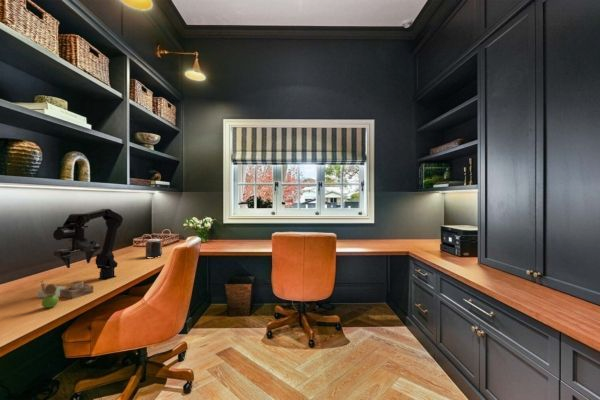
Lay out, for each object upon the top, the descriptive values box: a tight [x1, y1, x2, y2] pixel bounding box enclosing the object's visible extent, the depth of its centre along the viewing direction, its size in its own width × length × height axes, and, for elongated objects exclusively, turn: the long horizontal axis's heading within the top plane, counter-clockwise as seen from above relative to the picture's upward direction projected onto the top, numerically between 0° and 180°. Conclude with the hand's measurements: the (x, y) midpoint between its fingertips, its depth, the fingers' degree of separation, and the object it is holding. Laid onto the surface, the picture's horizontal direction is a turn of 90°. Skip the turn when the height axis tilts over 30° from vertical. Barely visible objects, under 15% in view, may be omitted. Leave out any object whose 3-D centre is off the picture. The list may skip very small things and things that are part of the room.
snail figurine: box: [40, 280, 60, 309], centre depth 110 cm, size 5×6×12 cm
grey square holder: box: [59, 283, 94, 300], centre depth 125 cm, size 9×9×4 cm
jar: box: [145, 238, 163, 258], centre depth 208 cm, size 12×12×15 cm
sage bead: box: [37, 285, 67, 298], centre depth 125 cm, size 7×7×3 cm
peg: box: [70, 280, 85, 290], centre depth 125 cm, size 3×3×6 cm
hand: (78, 265), depth 133 cm, fingers open, 9 cm apart
